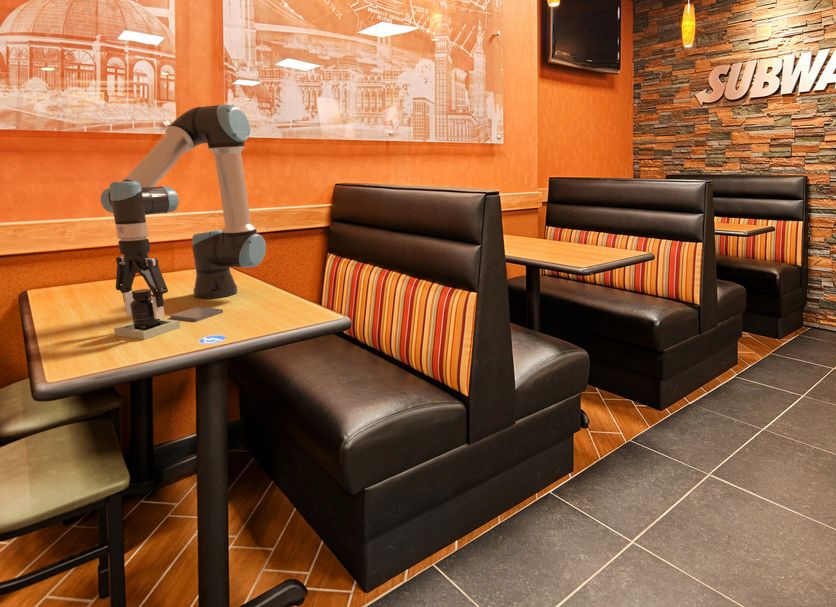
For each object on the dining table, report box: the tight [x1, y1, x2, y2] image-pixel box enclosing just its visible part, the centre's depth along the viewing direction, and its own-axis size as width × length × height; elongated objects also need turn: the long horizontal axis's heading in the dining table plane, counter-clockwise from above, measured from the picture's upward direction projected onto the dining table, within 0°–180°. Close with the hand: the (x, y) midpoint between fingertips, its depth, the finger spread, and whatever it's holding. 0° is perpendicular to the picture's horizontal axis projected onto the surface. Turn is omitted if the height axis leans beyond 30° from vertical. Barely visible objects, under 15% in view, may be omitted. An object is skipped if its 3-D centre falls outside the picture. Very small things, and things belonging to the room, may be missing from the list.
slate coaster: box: [169, 306, 224, 322], centre depth 171 cm, size 11×11×1 cm
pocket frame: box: [113, 318, 181, 340], centre depth 155 cm, size 12×12×2 cm
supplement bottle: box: [130, 288, 161, 330], centre depth 154 cm, size 7×7×12 cm
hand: (145, 316), depth 154 cm, fingers open, 11 cm apart
